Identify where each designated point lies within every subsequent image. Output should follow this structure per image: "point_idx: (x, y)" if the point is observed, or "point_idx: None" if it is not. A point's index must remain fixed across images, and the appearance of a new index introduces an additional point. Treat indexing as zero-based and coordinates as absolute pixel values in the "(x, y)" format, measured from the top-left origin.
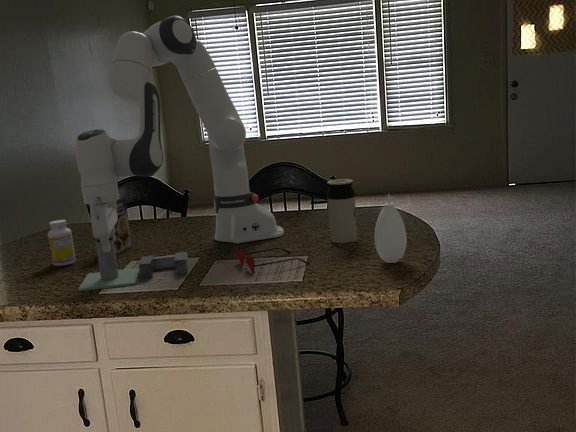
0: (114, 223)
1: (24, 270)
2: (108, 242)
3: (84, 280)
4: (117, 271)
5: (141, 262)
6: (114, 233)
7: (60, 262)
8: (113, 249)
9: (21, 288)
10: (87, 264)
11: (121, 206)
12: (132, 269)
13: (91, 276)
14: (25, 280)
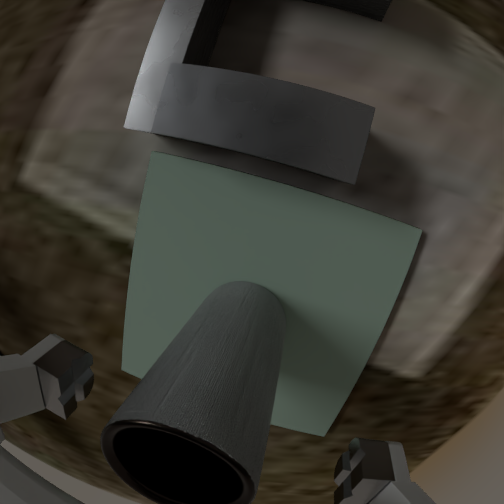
0: (5, 490)
1: (31, 437)
2: (428, 500)
3: None
4: (257, 296)
5: (311, 155)
6: (6, 356)
7: None
8: (240, 383)
9: None
10: (10, 324)
11: None
12: (162, 193)
13: None
14: (105, 471)
